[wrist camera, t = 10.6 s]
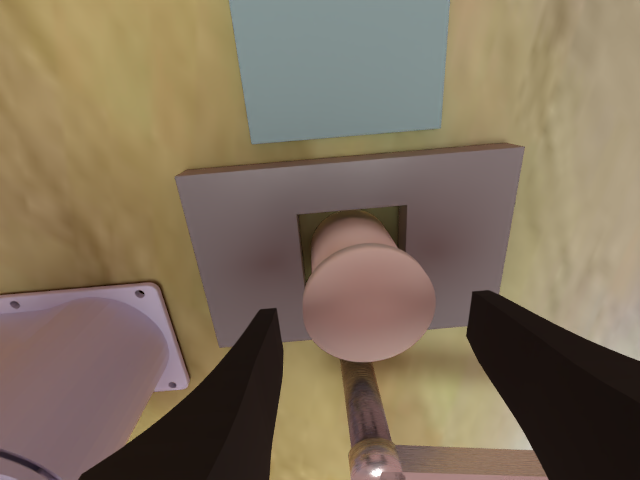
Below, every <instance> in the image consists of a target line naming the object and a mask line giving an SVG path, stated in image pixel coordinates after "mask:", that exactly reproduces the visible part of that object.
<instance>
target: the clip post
mask: <svg viewBox="0 0 640 480" xmlns="http://www.w3.org/2000/svg"><path fill="white" fill-rule="evenodd" d="M340 363H341V371H342V378H343V386H344V394H345V402H346V409H347V417H348V425H349V433H350V441H351V448H352V447H353V446H354V445H355V444H357V443H358V442H360V441H362V440H365V439H370V438H383V439H387V440H390V441H391V437H390V433H389V429H388V425H387V421H386V417H385V413H384V409H383V405H382V401H381V397H380V393H379V389H378V385H377V381H376V377H375V373H374V368H373V364H372V362H353V361H347V360H343V359H340ZM391 442H392V441H391Z"/></svg>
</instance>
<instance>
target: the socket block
mask: <svg viewBox="0 0 640 480" xmlns="http://www.w3.org/2000/svg"><path fill="white" fill-rule="evenodd" d="M524 148H525V147H523V146H518V145H514V144H509V143H498V144H487V145H475V146H463V147H451V148H440V149H428V150H416V151H404V152H392V153H381V154H369V155H357V156H345V157H334V158H322V159H310V160H298V161H286V162H275V163H263V164H251V165H239V166H227V167H216V168H204V169H192V170H185V171H183V172H182V173H180V174H178V175H176V176H175V180H176V184H177V188H178V192H179V195H180V199H181V203H182V207H183V211H184V214H185V218H186V222H187V226H188V230H189V234H190V237H191V241H192V245H193V249H194V253H195V256H196V260H197V264H198V268H199V272H200V276H201V279H202V283H203V287H204V291H205V295H206V298H207V302H208V306H209V310H210V314H211V317H212V321H213V325H214V329H215V333H216V337H217V340H218V344H219V348H222V347H233V346H234V344H235V343H236V342H237V340H238V339H239V338H240V336H241V335H242V334H243V332H244V331H245V330H246V328H247V327H248V325H249V324H250V322H251V321H252V319H253V318H254V317H255V315H256V314H257V312H258V311H259V310H260V309H269V308H277V313H278V320H279V326H280V332H281V339H282V342H290V341H302V340H312V338H311V337H310V336H309V334H308V332H307V330H306V327H305V325H304V320H303V293H304V289H305V286H306V281H305V272H304V263H303V253H302V244H301V235H300V226H299V217H298V214H308V213H319V212H331V211H343V210H355V209H366V208H378V207H390V206H399V226H398V249H401V250H402V251H404V252H406V253H408V254H409V255H410V256H412V257H413V258H414V259H415V260H416V261H417V262H418V263H419V264H420V266H421V267H422V268H423V270H424V271H425V273H426V274H427V276H428V277H429V279H430V281H431V283H432V285H433V288H434V291H435V297H436V307H435V313H434V316H433V319H432V321H431V323H430V326H429V327H428V329H440V328H451V327H463V326H468V319H469V312H470V305H471V297H472V291H483V290H490V291H492V292H494V293H497V294H499V290H500V285H501V279H502V273H503V268H504V262H505V256H506V251H507V245H508V239H509V234H510V228H511V222H512V217H513V211H514V205H515V200H516V194H517V188H518V182H519V177H520V171H521V165H522V160H523V154H524ZM428 329H427V330H428Z"/></svg>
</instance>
